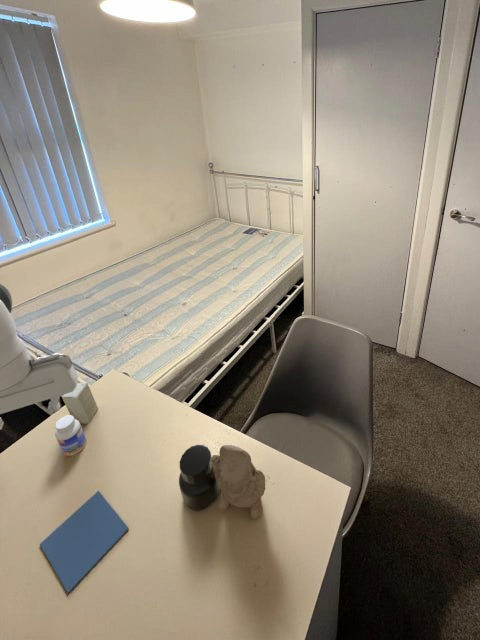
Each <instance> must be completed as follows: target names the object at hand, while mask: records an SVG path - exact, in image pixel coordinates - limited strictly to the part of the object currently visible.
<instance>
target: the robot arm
mask: <svg viewBox="0 0 480 640" xmlns="http://www.w3.org/2000/svg"><path fill="white" fill-rule="evenodd" d="M11 294H12V293H10V291H9V289H8V288H7V287H6V286H4V285H3V284H1V283H0V415H3V414H6V413H9V412H11V411H15V410H19V409H22V408H24V407H28V406H32V405H34V404H38V403H42V402H44V401H48V400H50V401H49V402H48V406H47V411H48V413H49V414H54V413H57V412H59V411H60V408H61V404H60V402H59V401H60V398H61V396H63V395H64V394H67V393H70V392H73V391H74V389H75V388H76V386H77V383H79V375H78V373H77V371H76V369H75V367H74V366H73V362H72V360H71V359H72V358H71V357H70V356H69V355H68V354H64V353H59V352H55V353H52V354H50V355H46V356H40V357H37V358H32V357H31V354H30V352H29V350H28V348H27V346H26V344H25V342H24V340H22V338H20V337H19V336H18V334H17V324H16V323H15V321H14V318H13V317H12V316H13V315H12V314H11V313H12V310H13V298H12V295H11ZM4 424H5V423H4V420H3V419H2V417H0V431H1V430H2V429H3V427H4Z"/></svg>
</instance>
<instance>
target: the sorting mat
mask: <svg viewBox="0 0 480 640" xmlns="http://www.w3.org/2000/svg"><path fill="white" fill-rule="evenodd" d="M129 530H130V528H129V527H128V525H127V524H126V523H125V522H124V520H123V519H122V518H121V516H119V514H118V513H117V511H116V510H115V509H114V507H112V506H111V504H110V503H109V502H108V501H107V499H106V498H105V497H104V496H103V494H102V493H101V492H100V491H99V490H97V491H96V492H95V493H94V494H93V495H92V496H90V498H88V499H87V500H86V501H85V502H84V503H83V504H82V505H81V506H80V507H79V508H78V509H77V510H75V512H73V513H72V514H71V515H70V516H69V517H68V518H67V519H65V520H64V521H63V522H62V523H61V524H60V525H59V526H58V527H56V528H55V530H53V531H52V532H51V533H50V534H49V535H47V537H46V538H45V539H43V540H42V541H41V542H40V543H39V546H40V548H41V550H42V551H43V553H44V555H45V556H46V558H47V560H48V562H49V563H50V565H51V567H52V568H53V571H54V572H55V573H56V575H57V577H58V578H59V581H60V582H61V585H62V586H63V587H64V589H65V591H66V593H67V594H70V593H71V592H72V591H73V590H74V589H75V588H76V586H77V585H78V584H79V583H80V582H81V581H82V580H83V579H84V578H85V577H86V576H87V575H88V573H90V572H91V570H92V569H93V568H94V567H95V566H96V565H97V564H98V563H99V562H100V561H101V560H102V559H103V558H104V556H105V555H106V554H108V552H110V550H111V549H112V548H113V547H114V546H115V545H116V544H117V542H118V541H119V540H121V538H122V537H123V536H124V535H125V534H126V533H127V532H128V531H129Z"/></svg>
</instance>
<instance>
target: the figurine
mask: <svg viewBox="0 0 480 640" xmlns="http://www.w3.org/2000/svg"><path fill="white" fill-rule="evenodd" d="M211 457H212V462H213V472H214V473H215V479H216V480H217V481H219V482H221V483H220V489H221V490H220V497H219V501H218V505H219V509H220V510H223V511H227V510H228V509H229V508H230V506H234V507H237V508H245V509H246V508H249V515H250V517H251V518H252V519H254V520H259V518H260V517H261V516H262V511H263V503H262V497H263V496H264V494H265V491H266V476H265V474H264V473H263V471H262V470H259V469H257V468H256V467H255V465H254V464H253V462H252V458H251V455H250V454H249V452H247V451H246V450H245V449H243V448H242V447H239V446H236V445H233V444H223V445H221V446H220V448H219V453H218V454H213V455H211Z"/></svg>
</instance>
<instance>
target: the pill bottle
mask: <svg viewBox="0 0 480 640" xmlns="http://www.w3.org/2000/svg"><path fill="white" fill-rule="evenodd" d="M54 428H55V433H54V437H55V438H56V441H57V443H58V445H59V447H60V450H61V451H62V453H63V455H65V456H67V457H68V456H69V457H70V456H73V455H76V454H78V453H79V452H81V451H82V450H83V449H84V447H85V446H86V444H87V436H86V434H85V432H84V429H83V427H82V425H81V423H79V421H78V420H75V419H74V417H73V416H72V415H70V414H67V415H64V416H62V417H61V418H59V419H58V420H57V421H56V423H55V426H54Z"/></svg>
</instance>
